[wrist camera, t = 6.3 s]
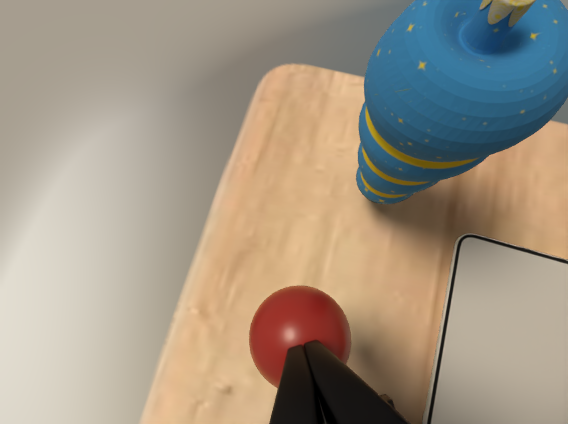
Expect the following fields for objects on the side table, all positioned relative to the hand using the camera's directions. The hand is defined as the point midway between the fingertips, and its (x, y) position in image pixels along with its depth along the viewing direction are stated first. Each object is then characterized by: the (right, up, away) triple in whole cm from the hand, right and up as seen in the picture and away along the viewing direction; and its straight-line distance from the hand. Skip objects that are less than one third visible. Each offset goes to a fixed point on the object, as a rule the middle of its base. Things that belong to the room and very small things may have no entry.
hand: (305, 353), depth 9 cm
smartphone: (+11, -5, +9) cm, 15 cm away
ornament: (+5, +5, +12) cm, 14 cm away
